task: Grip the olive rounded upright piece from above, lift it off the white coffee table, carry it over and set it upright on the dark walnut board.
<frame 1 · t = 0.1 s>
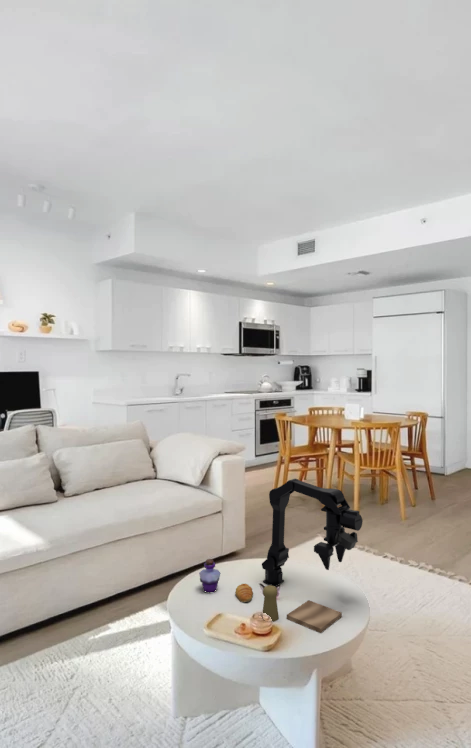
hand: (333, 565, 186), 15 cm above the table, tool pointing down, fingers open, 9 cm apart
olive rounded upright piece: (270, 618, 178), on the table
walnut board: (314, 617, 177), on the table
pastry: (245, 597, 194), on the table
potion bottle: (209, 590, 199), on the table
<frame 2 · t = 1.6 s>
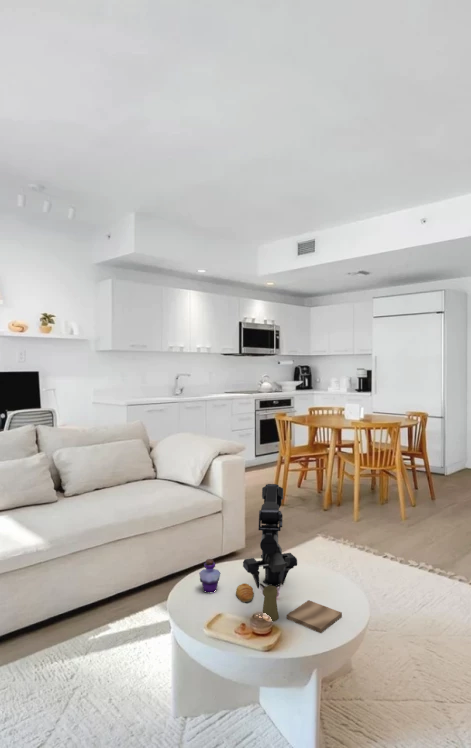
hand: (270, 586, 178), 11 cm above the table, tool pointing down, fingers open, 9 cm apart
nothing on the table moved.
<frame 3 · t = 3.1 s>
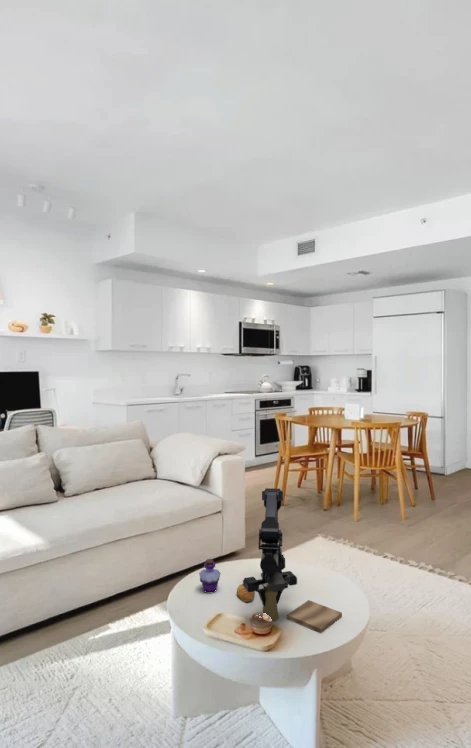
hand: (270, 604, 178), 5 cm above the table, tool pointing down, fingers closed on olive rounded upright piece, 4 cm apart
olive rounded upright piece: (270, 617, 178), on the table, touching gripper
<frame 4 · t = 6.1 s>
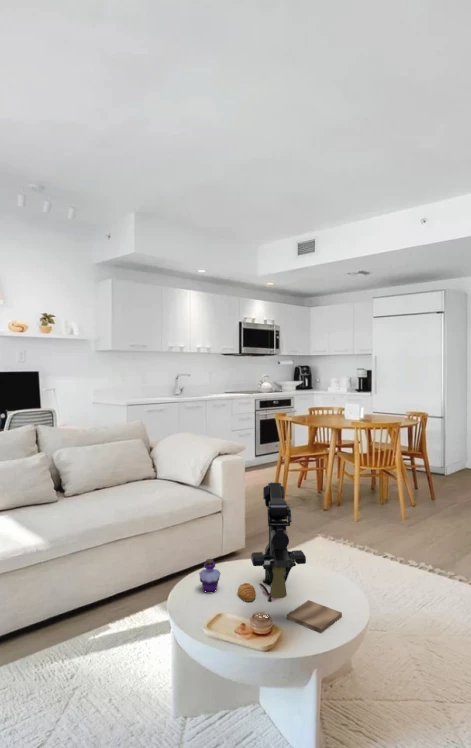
hand: (278, 581, 177), 13 cm above the table, tool pointing down, fingers closed on olive rounded upright piece, 4 cm apart
olive rounded upright piece: (278, 594, 178), point 8 cm above the table, touching gripper
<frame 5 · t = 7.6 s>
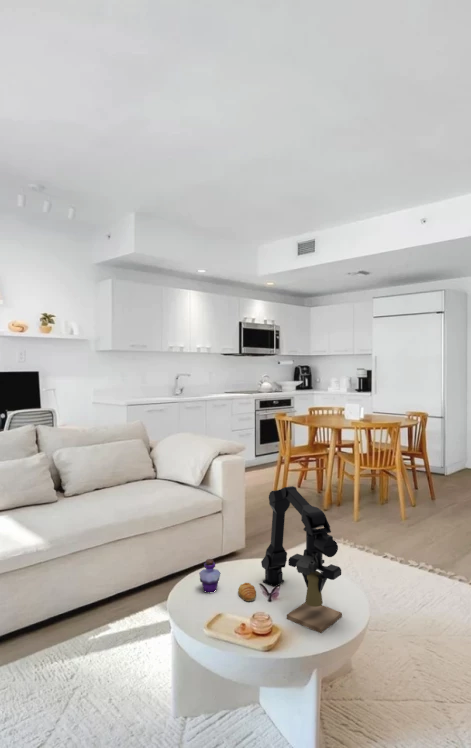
hand: (314, 589, 177), 10 cm above the table, tool pointing down, fingers closed on olive rounded upright piece, 4 cm apart
olive rounded upright piece: (314, 602, 177), point 5 cm above the table, touching gripper
when the fingers open (7 cm above the table, at t = 8.9 s): olive rounded upright piece stays where it is, resting on walnut board.
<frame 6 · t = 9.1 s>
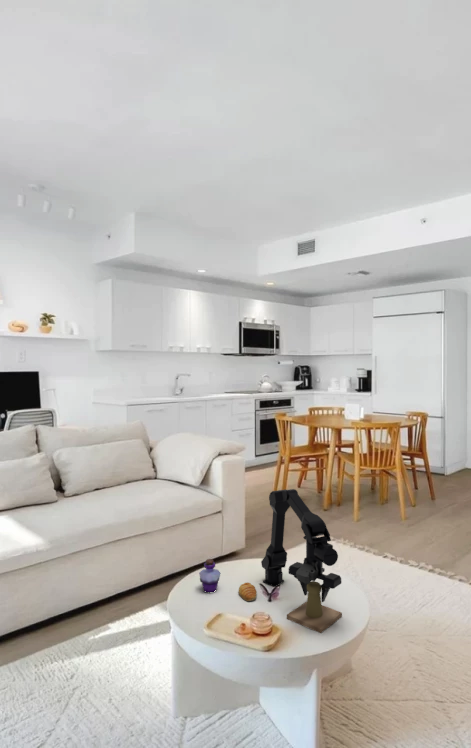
hand: (314, 598, 177), 7 cm above the table, tool pointing down, fingers open, 7 cm apart
olive rounded upright piece: (314, 614, 177), point 1 cm above the table, touching walnut board
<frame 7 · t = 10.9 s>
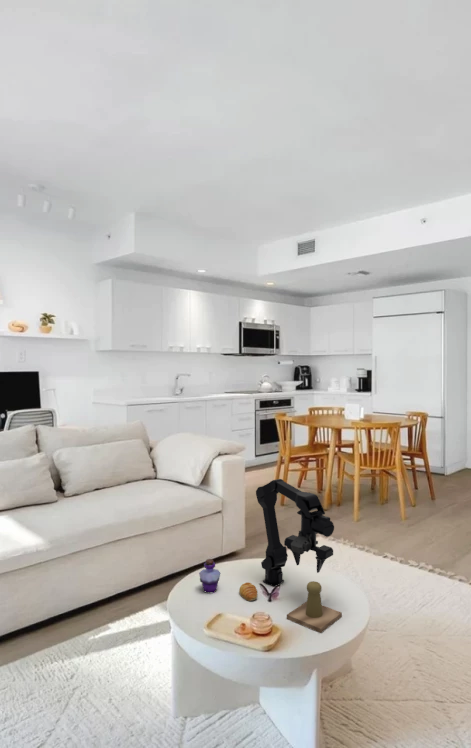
hand: (307, 568, 189), 12 cm above the table, tool pointing down, fingers open, 9 cm apart
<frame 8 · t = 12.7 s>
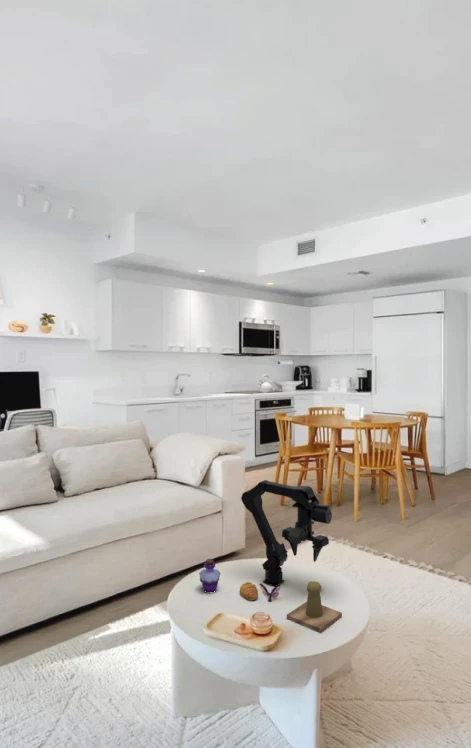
hand: (304, 558, 197), 13 cm above the table, tool pointing down, fingers open, 9 cm apart
at the end: olive rounded upright piece inside the target area on the walnut board (0.1 cm from its centre), point 1.3 cm above the walnut board's base; olive rounded upright piece tilted 0°; the gripper is holding nothing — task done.
